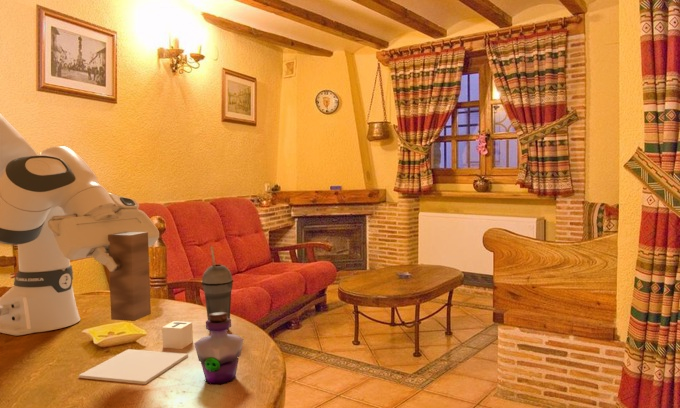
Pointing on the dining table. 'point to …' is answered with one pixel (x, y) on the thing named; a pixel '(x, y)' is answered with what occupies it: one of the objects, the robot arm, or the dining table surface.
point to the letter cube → (177, 334)
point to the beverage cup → (217, 288)
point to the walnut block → (130, 276)
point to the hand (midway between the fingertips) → (131, 265)
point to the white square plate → (134, 366)
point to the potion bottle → (219, 350)
